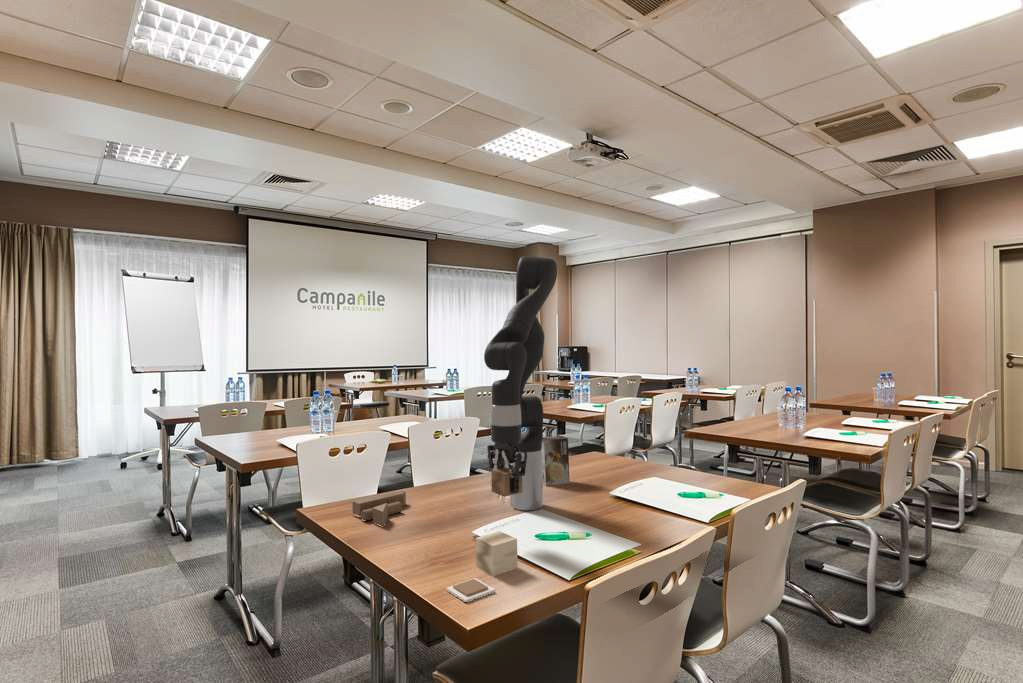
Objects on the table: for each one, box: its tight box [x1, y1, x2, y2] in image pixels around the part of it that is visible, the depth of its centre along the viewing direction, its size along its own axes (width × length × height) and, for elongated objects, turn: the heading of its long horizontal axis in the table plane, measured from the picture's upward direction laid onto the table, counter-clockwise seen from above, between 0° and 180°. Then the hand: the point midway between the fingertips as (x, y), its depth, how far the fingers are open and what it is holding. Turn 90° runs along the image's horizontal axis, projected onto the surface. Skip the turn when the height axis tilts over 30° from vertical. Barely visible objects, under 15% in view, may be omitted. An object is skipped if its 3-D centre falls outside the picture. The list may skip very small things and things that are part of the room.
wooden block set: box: [351, 490, 407, 527], centre depth 158 cm, size 17×6×18 cm
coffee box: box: [542, 435, 571, 487], centre depth 190 cm, size 9×6×16 cm
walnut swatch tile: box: [445, 577, 496, 603], centre depth 106 cm, size 7×7×1 cm
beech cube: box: [475, 530, 519, 577], centre depth 118 cm, size 6×6×6 cm
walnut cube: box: [490, 466, 522, 498], centre depth 134 cm, size 6×6×6 cm
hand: (506, 489), depth 134 cm, fingers closed on walnut cube, 5 cm apart
